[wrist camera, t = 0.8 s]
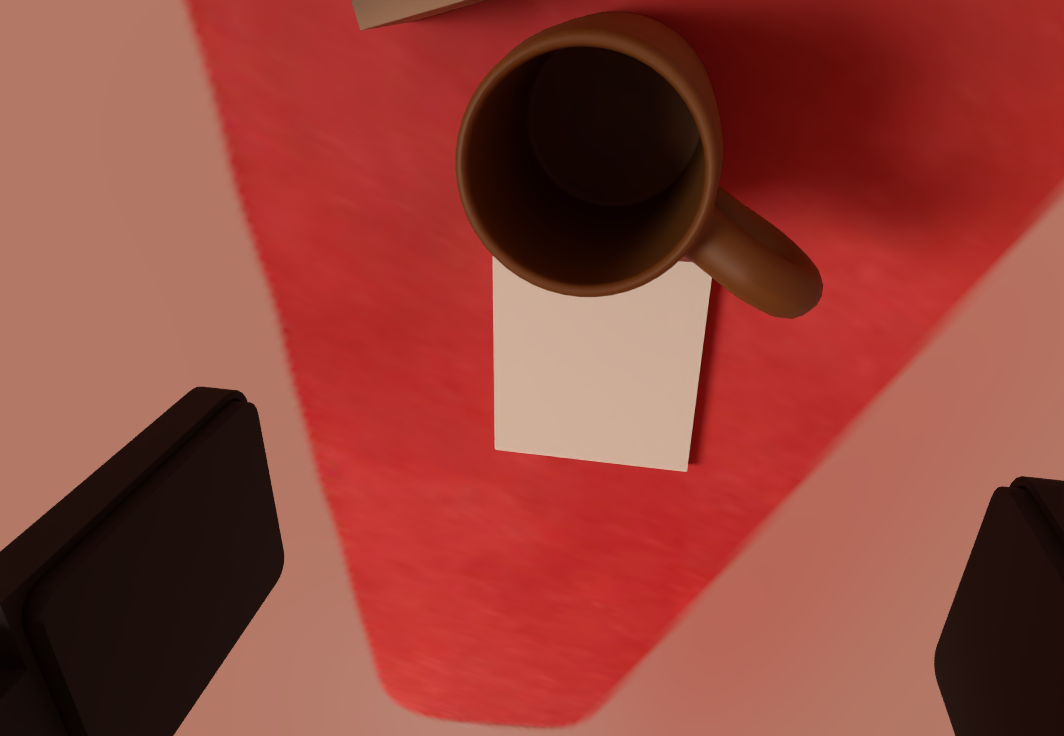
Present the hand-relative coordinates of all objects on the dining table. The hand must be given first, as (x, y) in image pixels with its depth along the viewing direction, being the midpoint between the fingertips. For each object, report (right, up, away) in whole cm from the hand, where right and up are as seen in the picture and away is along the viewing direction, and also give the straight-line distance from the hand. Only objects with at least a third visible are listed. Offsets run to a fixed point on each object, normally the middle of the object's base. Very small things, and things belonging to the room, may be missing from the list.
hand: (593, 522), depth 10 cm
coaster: (+2, +2, +24) cm, 24 cm away
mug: (+4, +10, +20) cm, 23 cm away
